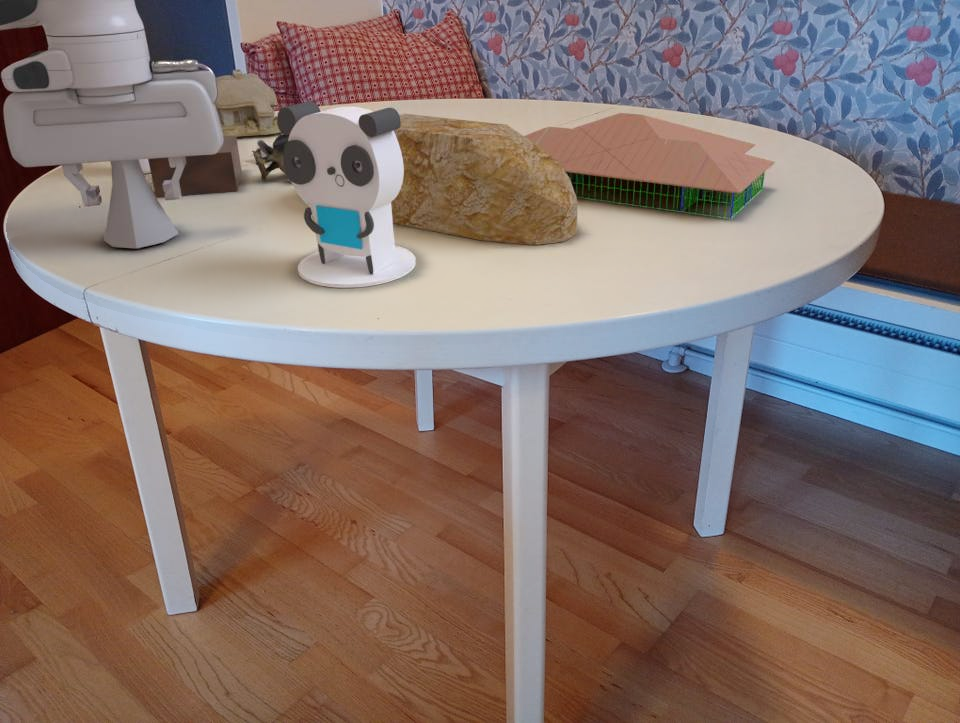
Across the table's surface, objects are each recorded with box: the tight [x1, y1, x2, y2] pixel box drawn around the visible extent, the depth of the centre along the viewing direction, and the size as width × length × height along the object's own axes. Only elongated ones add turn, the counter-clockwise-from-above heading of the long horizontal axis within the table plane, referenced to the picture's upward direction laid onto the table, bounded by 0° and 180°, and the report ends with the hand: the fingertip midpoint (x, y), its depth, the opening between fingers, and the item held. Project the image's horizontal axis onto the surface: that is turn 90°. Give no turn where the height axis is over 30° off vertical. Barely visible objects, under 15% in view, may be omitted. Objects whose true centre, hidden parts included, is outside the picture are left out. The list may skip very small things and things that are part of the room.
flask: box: [103, 159, 180, 249], centre depth 86 cm, size 7×7×10 cm
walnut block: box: [148, 136, 243, 198], centre depth 107 cm, size 10×10×5 cm
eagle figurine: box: [252, 134, 292, 184], centre depth 108 cm, size 8×7×9 cm
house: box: [523, 112, 776, 220], centre depth 103 cm, size 23×33×8 cm
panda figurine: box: [276, 100, 417, 289], centre depth 77 cm, size 12×11×15 cm
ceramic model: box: [215, 68, 281, 138], centre depth 135 cm, size 14×11×10 cm
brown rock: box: [391, 113, 579, 246], centre depth 92 cm, size 36×11×10 cm, turn 56°
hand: (134, 201), depth 87 cm, fingers open, 7 cm apart
